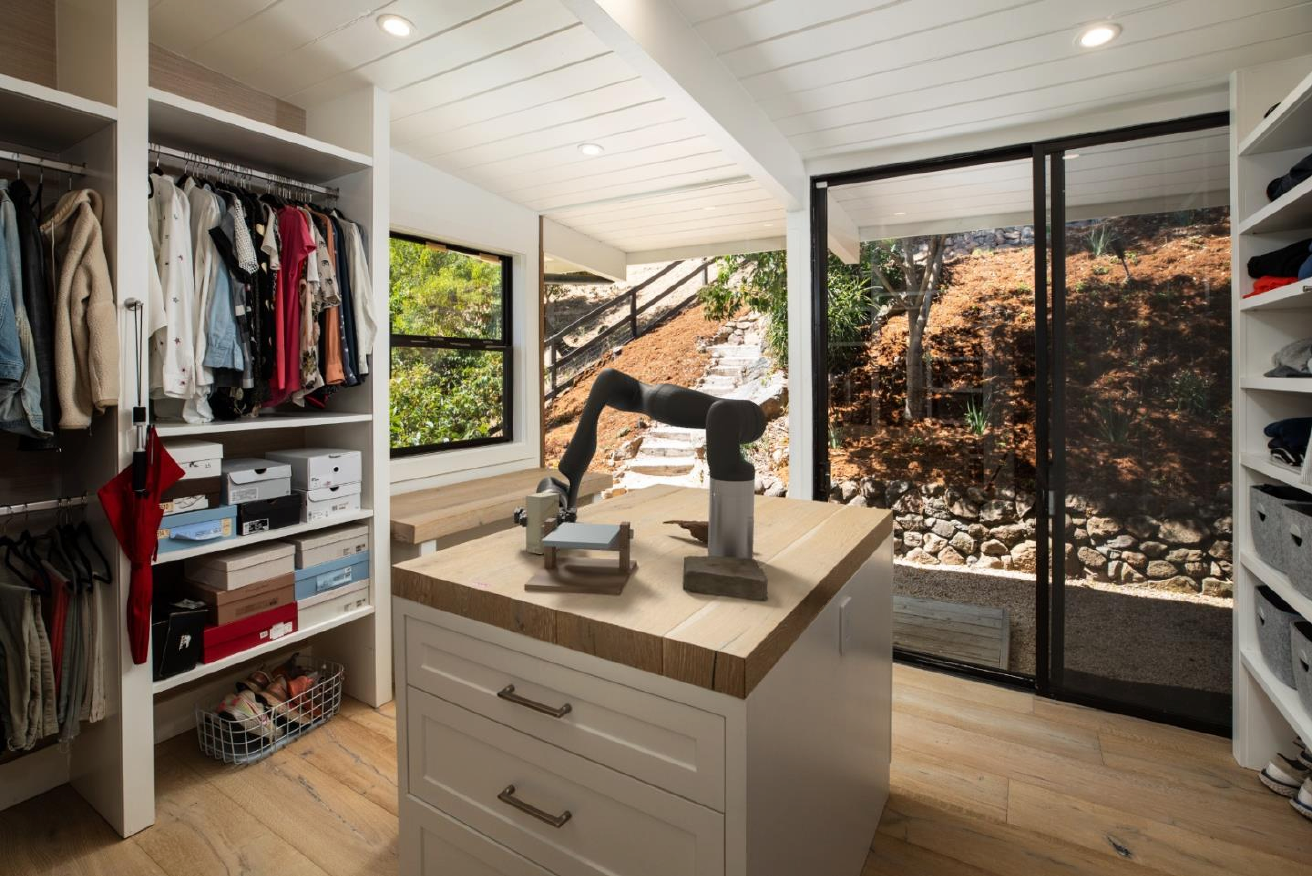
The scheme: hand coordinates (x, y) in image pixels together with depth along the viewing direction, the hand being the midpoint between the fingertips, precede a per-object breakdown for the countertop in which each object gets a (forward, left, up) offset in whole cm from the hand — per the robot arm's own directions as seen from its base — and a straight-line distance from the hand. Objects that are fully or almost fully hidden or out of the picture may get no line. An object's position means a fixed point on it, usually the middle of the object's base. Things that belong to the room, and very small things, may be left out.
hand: (541, 522), depth 142 cm
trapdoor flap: (-13, +14, -3) cm, 19 cm away
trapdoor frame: (-13, +14, -7) cm, 20 cm away
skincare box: (0, -2, -7) cm, 7 cm away
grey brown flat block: (-39, +15, -7) cm, 42 cm away
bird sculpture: (-34, -17, -7) cm, 38 cm away
